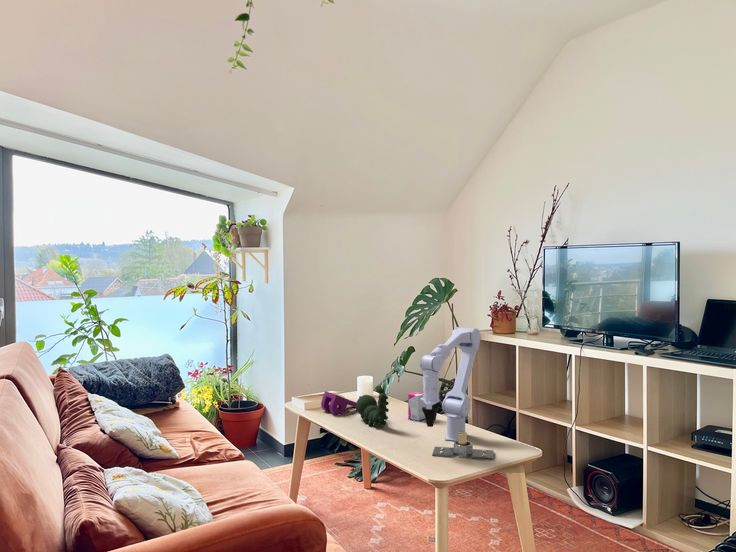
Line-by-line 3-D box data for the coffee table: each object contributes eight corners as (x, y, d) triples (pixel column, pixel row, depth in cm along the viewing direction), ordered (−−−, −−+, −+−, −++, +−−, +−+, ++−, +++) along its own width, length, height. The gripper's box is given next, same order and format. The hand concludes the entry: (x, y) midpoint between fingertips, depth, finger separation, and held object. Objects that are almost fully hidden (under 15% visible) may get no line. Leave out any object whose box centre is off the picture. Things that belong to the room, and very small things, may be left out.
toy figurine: (393, 432, 238) (368, 412, 260) (395, 388, 236) (369, 372, 258) (373, 435, 234) (349, 415, 256) (374, 391, 232) (350, 374, 254)
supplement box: (426, 419, 251) (426, 393, 251) (418, 422, 247) (417, 395, 246) (416, 416, 255) (415, 391, 255) (407, 419, 251) (407, 393, 250)
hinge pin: (459, 452, 208) (458, 430, 208) (467, 453, 207) (467, 431, 207) (457, 455, 205) (457, 433, 205) (466, 455, 204) (465, 433, 204)
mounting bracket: (347, 418, 274) (318, 408, 264) (353, 402, 276) (325, 391, 266) (359, 423, 266) (329, 412, 256) (365, 406, 268) (336, 394, 258)
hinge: (432, 455, 204) (432, 444, 204) (435, 448, 212) (434, 438, 212) (493, 460, 199) (493, 448, 199) (493, 452, 207) (493, 441, 207)
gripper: (423, 382, 220) (423, 417, 220) (417, 391, 206) (417, 428, 206) (441, 383, 218) (441, 418, 218) (437, 392, 204) (437, 429, 204)
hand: (431, 423), depth 212 cm, fingers open, 7 cm apart
